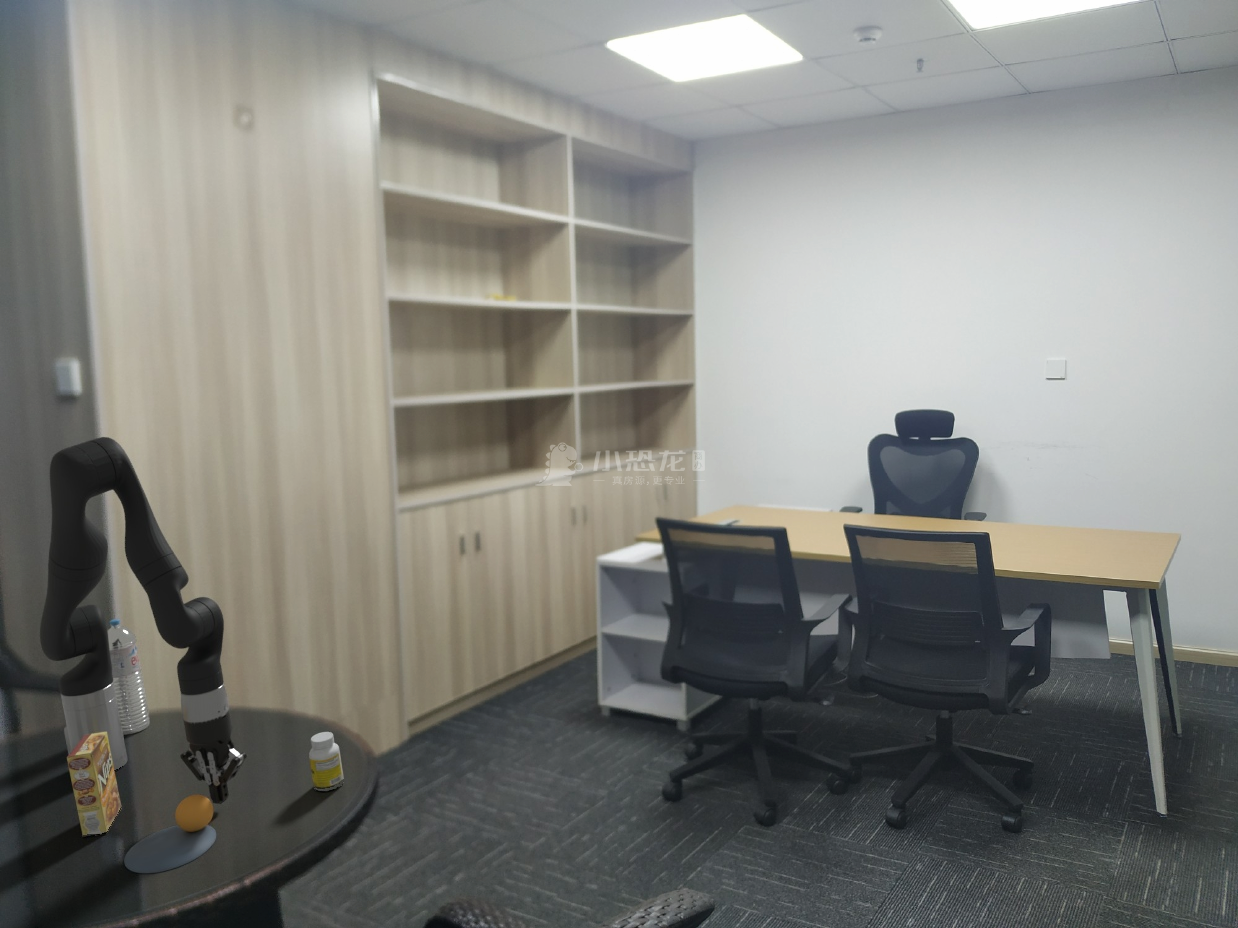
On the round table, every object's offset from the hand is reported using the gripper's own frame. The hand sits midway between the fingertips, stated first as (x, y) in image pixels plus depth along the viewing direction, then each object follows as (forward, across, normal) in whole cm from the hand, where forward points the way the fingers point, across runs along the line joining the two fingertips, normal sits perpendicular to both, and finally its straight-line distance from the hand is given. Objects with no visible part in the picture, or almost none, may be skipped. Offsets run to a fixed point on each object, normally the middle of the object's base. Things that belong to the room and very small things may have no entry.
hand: (220, 801), depth 165 cm
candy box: (+2, -19, -8) cm, 21 cm away
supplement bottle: (+2, +15, +11) cm, 19 cm away
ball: (-2, 0, -6) cm, 6 cm away
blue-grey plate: (+2, 0, -12) cm, 12 cm away
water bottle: (+2, -45, +25) cm, 52 cm away
